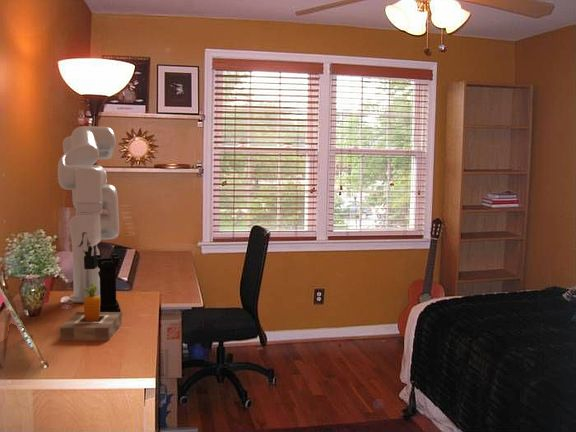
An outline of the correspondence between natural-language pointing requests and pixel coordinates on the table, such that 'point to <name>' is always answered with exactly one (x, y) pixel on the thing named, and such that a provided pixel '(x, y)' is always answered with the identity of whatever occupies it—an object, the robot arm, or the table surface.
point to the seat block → (91, 327)
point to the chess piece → (108, 283)
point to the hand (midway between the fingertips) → (90, 268)
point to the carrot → (91, 305)
